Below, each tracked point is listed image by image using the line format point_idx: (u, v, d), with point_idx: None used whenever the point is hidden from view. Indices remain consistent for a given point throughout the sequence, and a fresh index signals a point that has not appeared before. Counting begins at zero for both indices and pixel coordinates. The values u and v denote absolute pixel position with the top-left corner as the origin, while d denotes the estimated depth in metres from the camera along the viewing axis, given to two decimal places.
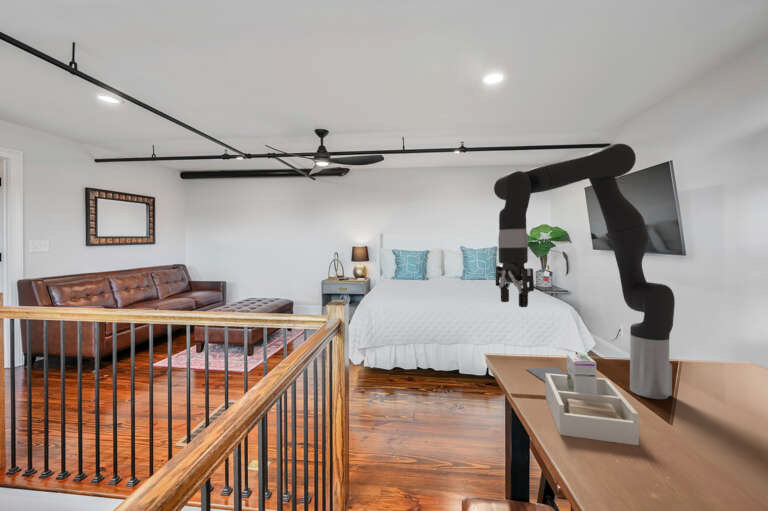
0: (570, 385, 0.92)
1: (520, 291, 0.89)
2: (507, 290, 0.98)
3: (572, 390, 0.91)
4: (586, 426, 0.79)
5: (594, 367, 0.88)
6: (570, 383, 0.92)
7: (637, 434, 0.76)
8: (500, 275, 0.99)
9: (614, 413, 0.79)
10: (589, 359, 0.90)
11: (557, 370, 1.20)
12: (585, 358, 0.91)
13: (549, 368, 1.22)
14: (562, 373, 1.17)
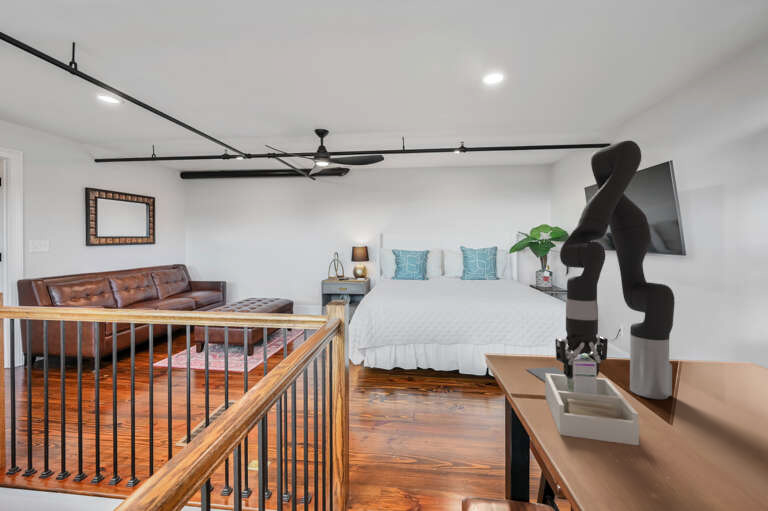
0: (570, 385, 0.92)
1: (599, 361, 0.91)
2: None
3: (572, 390, 0.91)
4: (586, 426, 0.79)
5: (594, 367, 0.88)
6: (570, 383, 0.92)
7: (637, 434, 0.76)
8: None
9: (614, 413, 0.79)
10: (589, 359, 0.90)
11: (557, 370, 1.20)
12: (585, 358, 0.91)
13: (549, 368, 1.22)
14: (562, 373, 1.17)
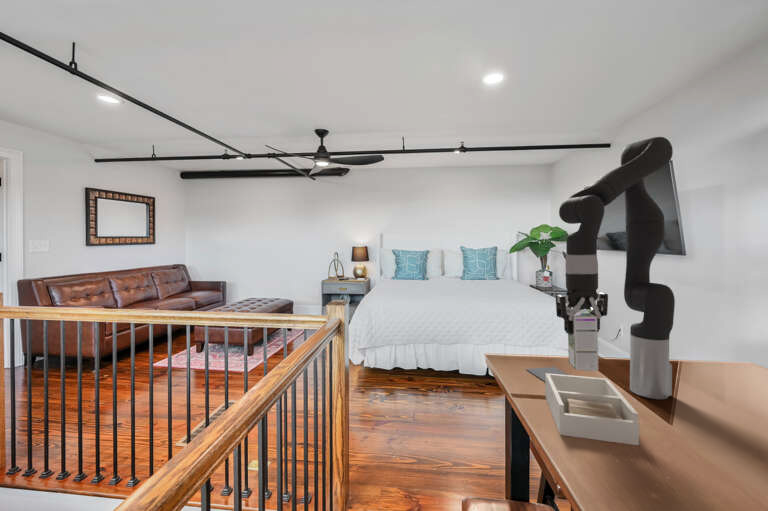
0: (571, 342, 0.92)
1: (600, 316, 0.91)
2: None
3: (573, 346, 0.90)
4: (586, 426, 0.79)
5: (595, 322, 0.88)
6: (571, 340, 0.92)
7: (637, 434, 0.76)
8: None
9: (614, 413, 0.79)
10: (590, 315, 0.90)
11: (557, 370, 1.20)
12: (586, 314, 0.90)
13: (549, 368, 1.22)
14: (562, 373, 1.17)
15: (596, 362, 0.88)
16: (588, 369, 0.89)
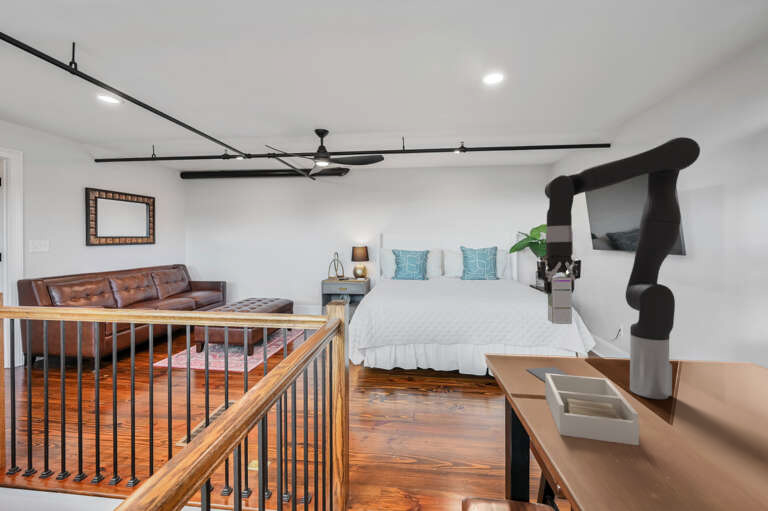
0: (550, 301, 1.08)
1: (574, 279, 1.07)
2: None
3: (551, 304, 1.06)
4: (586, 426, 0.79)
5: (569, 282, 1.04)
6: (550, 299, 1.08)
7: (637, 434, 0.76)
8: None
9: (614, 413, 0.79)
10: (565, 277, 1.06)
11: (557, 370, 1.20)
12: None
13: (549, 368, 1.22)
14: (562, 373, 1.17)
15: (570, 316, 1.05)
16: (563, 323, 1.05)
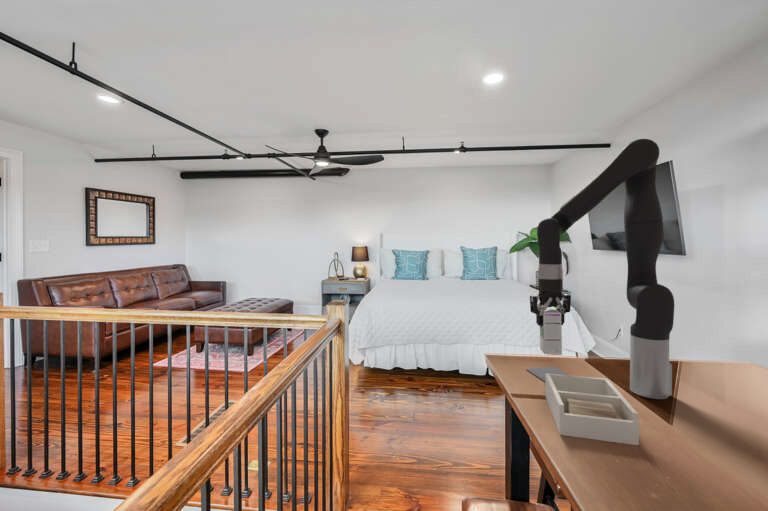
0: (541, 332, 1.17)
1: (564, 313, 1.15)
2: None
3: (543, 335, 1.15)
4: (586, 426, 0.79)
5: (559, 316, 1.13)
6: (541, 331, 1.16)
7: (637, 434, 0.76)
8: None
9: (614, 413, 0.79)
10: (556, 311, 1.15)
11: (557, 370, 1.20)
12: (553, 310, 1.15)
13: (549, 368, 1.22)
14: (562, 373, 1.17)
15: (560, 348, 1.13)
16: (554, 353, 1.14)
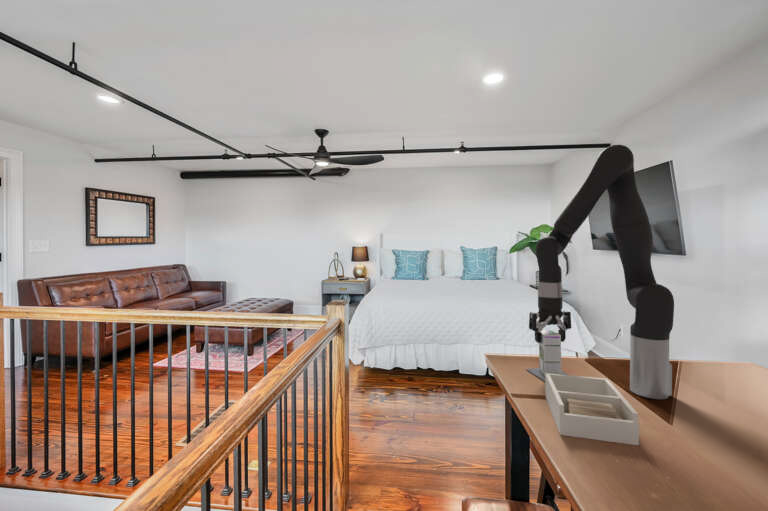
0: (541, 354, 1.17)
1: (565, 329, 1.16)
2: None
3: (542, 357, 1.15)
4: (586, 426, 0.79)
5: (559, 339, 1.13)
6: (541, 352, 1.17)
7: (637, 434, 0.76)
8: None
9: (614, 413, 0.79)
10: (555, 333, 1.15)
11: None
12: (552, 332, 1.16)
13: None
14: (562, 373, 1.17)
15: (559, 370, 1.14)
16: None
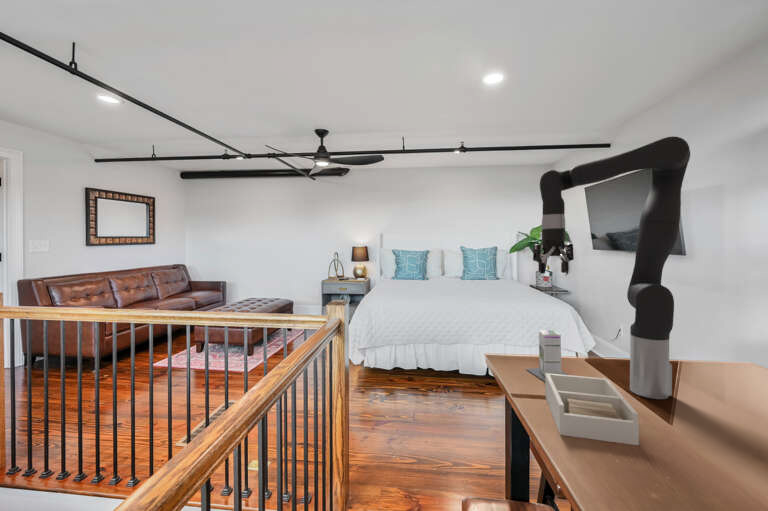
0: (541, 354, 1.17)
1: (568, 260, 1.21)
2: None
3: (542, 357, 1.15)
4: (586, 426, 0.79)
5: (559, 339, 1.13)
6: (541, 352, 1.17)
7: (637, 434, 0.76)
8: None
9: (614, 413, 0.79)
10: (555, 333, 1.15)
11: None
12: (552, 332, 1.16)
13: None
14: (562, 373, 1.17)
15: (559, 370, 1.14)
16: None
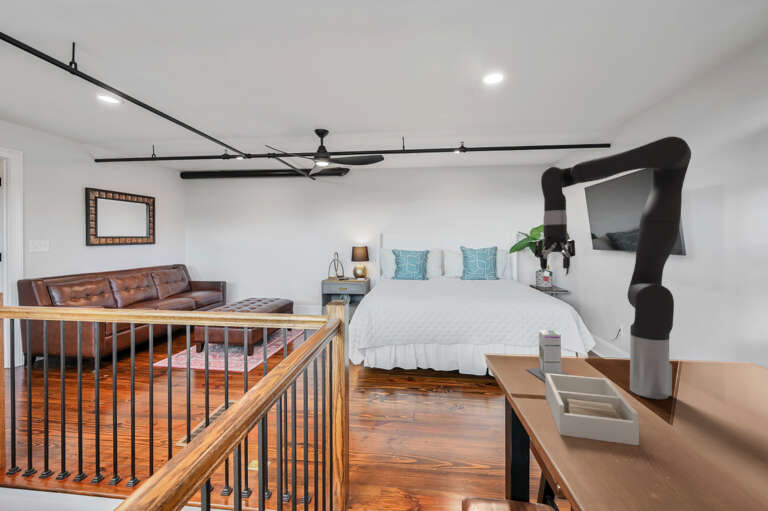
0: (541, 354, 1.17)
1: (569, 256, 1.22)
2: None
3: (542, 357, 1.15)
4: (586, 426, 0.79)
5: (559, 339, 1.13)
6: (541, 352, 1.17)
7: (637, 434, 0.76)
8: None
9: (614, 413, 0.79)
10: (555, 333, 1.15)
11: None
12: (552, 332, 1.16)
13: None
14: (562, 373, 1.17)
15: (559, 370, 1.14)
16: None
